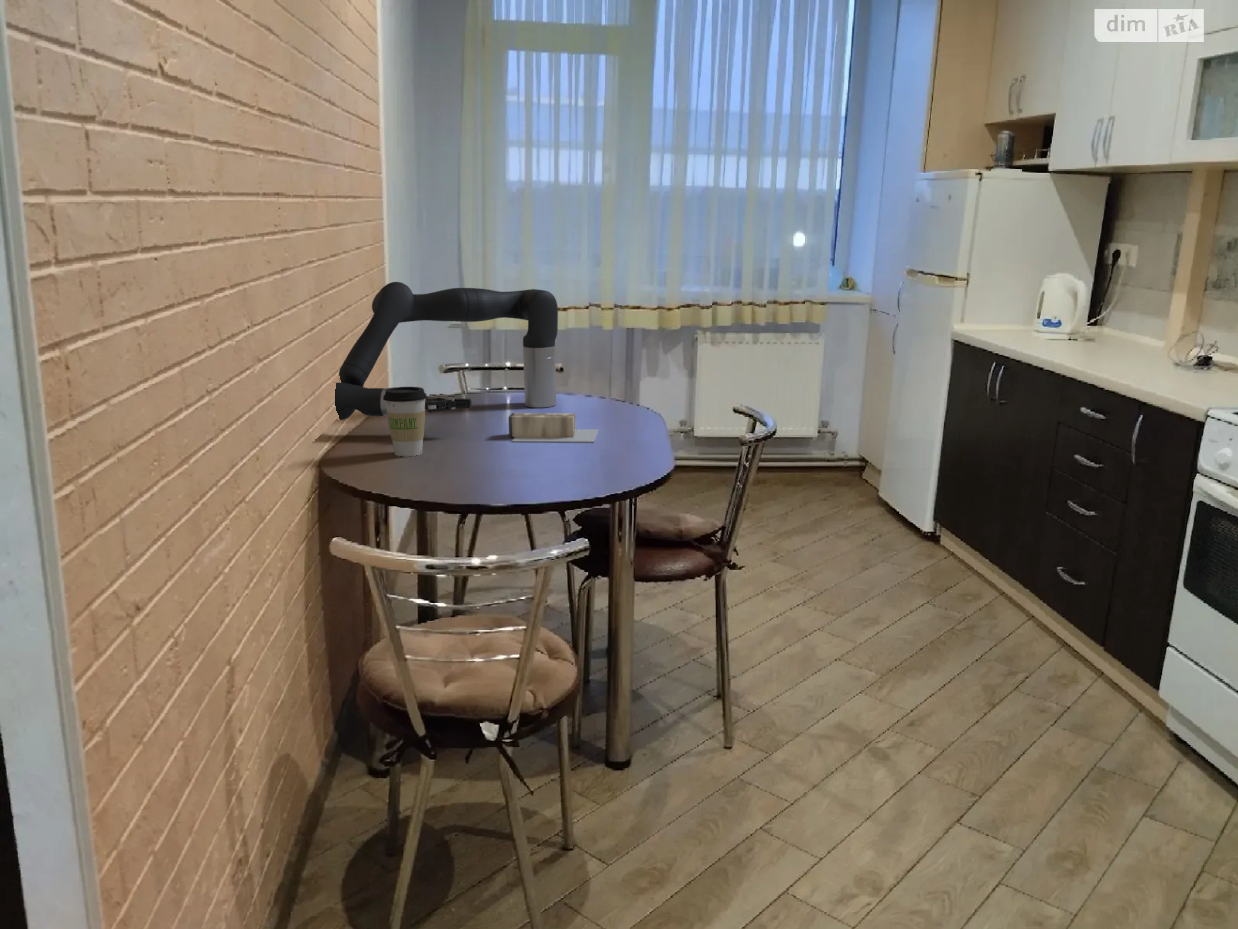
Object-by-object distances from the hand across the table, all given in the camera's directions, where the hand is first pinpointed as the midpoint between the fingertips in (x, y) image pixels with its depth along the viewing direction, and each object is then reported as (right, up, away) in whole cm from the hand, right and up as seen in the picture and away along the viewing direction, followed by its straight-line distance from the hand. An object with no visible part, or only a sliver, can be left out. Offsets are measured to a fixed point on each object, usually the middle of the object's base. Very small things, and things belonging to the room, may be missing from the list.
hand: (470, 403), depth 242 cm
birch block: (+10, -5, +1) cm, 11 cm away
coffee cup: (-12, -13, -16) cm, 24 cm away
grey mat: (+21, -8, +1) cm, 23 cm away
